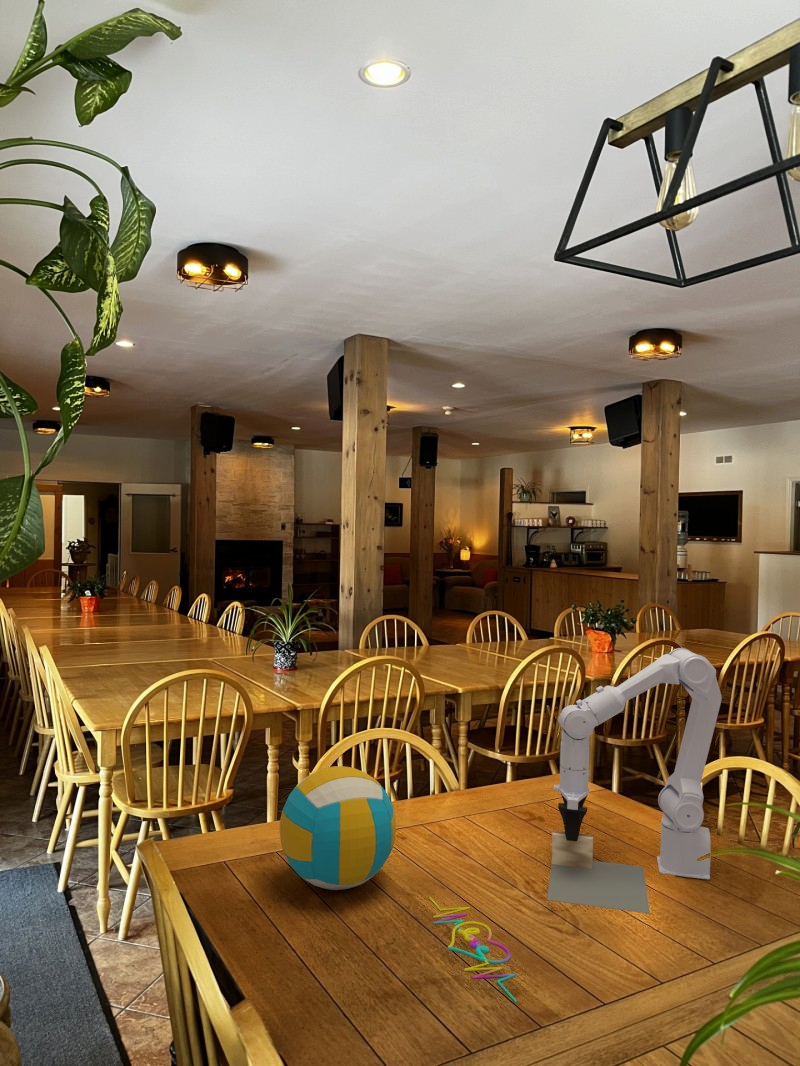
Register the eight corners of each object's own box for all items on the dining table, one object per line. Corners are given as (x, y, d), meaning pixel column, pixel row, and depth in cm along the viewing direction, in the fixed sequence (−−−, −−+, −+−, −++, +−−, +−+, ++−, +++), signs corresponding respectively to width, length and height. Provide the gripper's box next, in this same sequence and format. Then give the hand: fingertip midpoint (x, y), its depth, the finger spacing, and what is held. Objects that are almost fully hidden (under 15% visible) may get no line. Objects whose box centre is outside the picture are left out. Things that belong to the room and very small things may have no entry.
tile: (592, 864, 162) (593, 835, 162) (592, 868, 160) (593, 839, 160) (552, 859, 164) (552, 830, 164) (551, 863, 162) (552, 834, 162)
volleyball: (414, 899, 146) (416, 779, 146) (298, 921, 137) (300, 794, 137) (369, 853, 166) (371, 747, 166) (265, 869, 157) (267, 758, 157)
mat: (643, 868, 162) (643, 866, 162) (649, 915, 142) (649, 913, 142) (552, 857, 166) (552, 856, 166) (546, 902, 146) (546, 899, 146)
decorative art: (493, 1009, 114) (554, 996, 118) (493, 1004, 114) (554, 990, 118) (406, 903, 145) (456, 895, 149) (406, 899, 145) (456, 891, 149)
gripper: (556, 754, 170) (554, 818, 170) (552, 775, 156) (550, 844, 156) (590, 757, 168) (588, 821, 168) (589, 778, 154) (587, 848, 154)
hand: (572, 833), depth 162 cm, fingers open, 7 cm apart
